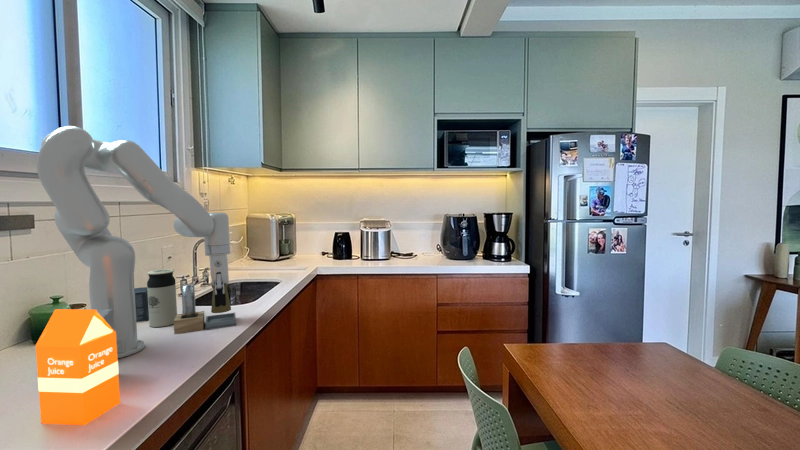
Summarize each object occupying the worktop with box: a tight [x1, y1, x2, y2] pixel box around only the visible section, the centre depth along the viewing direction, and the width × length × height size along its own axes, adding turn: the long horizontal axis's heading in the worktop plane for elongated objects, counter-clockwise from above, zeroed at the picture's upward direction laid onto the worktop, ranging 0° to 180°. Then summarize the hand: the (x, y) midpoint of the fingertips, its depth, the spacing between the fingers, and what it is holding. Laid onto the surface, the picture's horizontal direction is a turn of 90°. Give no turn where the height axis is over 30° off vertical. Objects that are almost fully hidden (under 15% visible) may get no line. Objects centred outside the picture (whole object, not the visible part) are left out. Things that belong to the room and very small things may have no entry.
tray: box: [204, 312, 237, 331], centre depth 123 cm, size 9×9×2 cm
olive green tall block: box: [210, 280, 232, 314], centre depth 123 cm, size 6×6×11 cm
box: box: [134, 286, 149, 323], centre depth 130 cm, size 8×6×11 cm
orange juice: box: [34, 308, 121, 426], centre depth 70 cm, size 8×9×20 cm
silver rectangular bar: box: [180, 283, 197, 319], centre depth 119 cm, size 4×4×14 cm
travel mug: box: [146, 268, 178, 328], centre depth 124 cm, size 8×8×18 cm
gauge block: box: [173, 310, 206, 335], centre depth 119 cm, size 8×8×4 cm
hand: (220, 303), depth 123 cm, fingers closed on olive green tall block, 3 cm apart
